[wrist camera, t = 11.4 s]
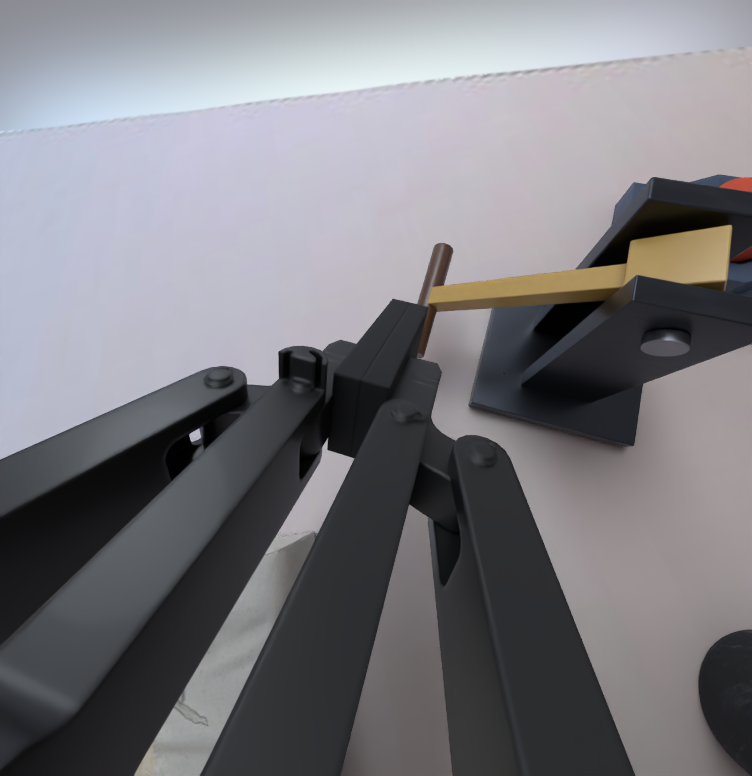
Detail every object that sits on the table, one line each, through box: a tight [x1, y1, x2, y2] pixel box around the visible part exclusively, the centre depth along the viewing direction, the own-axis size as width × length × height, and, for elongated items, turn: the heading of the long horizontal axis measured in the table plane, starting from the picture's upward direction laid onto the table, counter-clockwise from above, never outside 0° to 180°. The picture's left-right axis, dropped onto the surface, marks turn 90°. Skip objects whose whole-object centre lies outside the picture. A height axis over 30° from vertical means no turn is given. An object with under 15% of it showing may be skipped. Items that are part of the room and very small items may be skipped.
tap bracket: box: [469, 177, 752, 447], centre depth 18 cm, size 10×9×13 cm
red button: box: [720, 178, 752, 262], centre depth 20 cm, size 4×4×2 cm
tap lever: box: [417, 225, 732, 358], centre depth 17 cm, size 13×7×2 cm
